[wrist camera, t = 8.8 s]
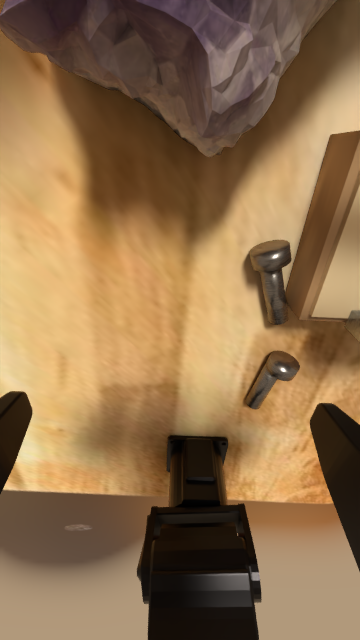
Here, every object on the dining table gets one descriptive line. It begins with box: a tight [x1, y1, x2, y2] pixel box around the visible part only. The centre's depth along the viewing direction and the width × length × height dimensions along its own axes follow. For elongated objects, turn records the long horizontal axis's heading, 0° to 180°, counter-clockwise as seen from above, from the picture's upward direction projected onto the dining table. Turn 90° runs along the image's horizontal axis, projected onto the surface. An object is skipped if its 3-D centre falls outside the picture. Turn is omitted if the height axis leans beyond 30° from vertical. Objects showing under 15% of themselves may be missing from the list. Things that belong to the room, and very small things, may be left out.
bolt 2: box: [246, 351, 300, 409], centre depth 23 cm, size 6×2×2 cm
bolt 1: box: [249, 240, 291, 325], centre depth 18 cm, size 6×2×2 cm, turn 18°
